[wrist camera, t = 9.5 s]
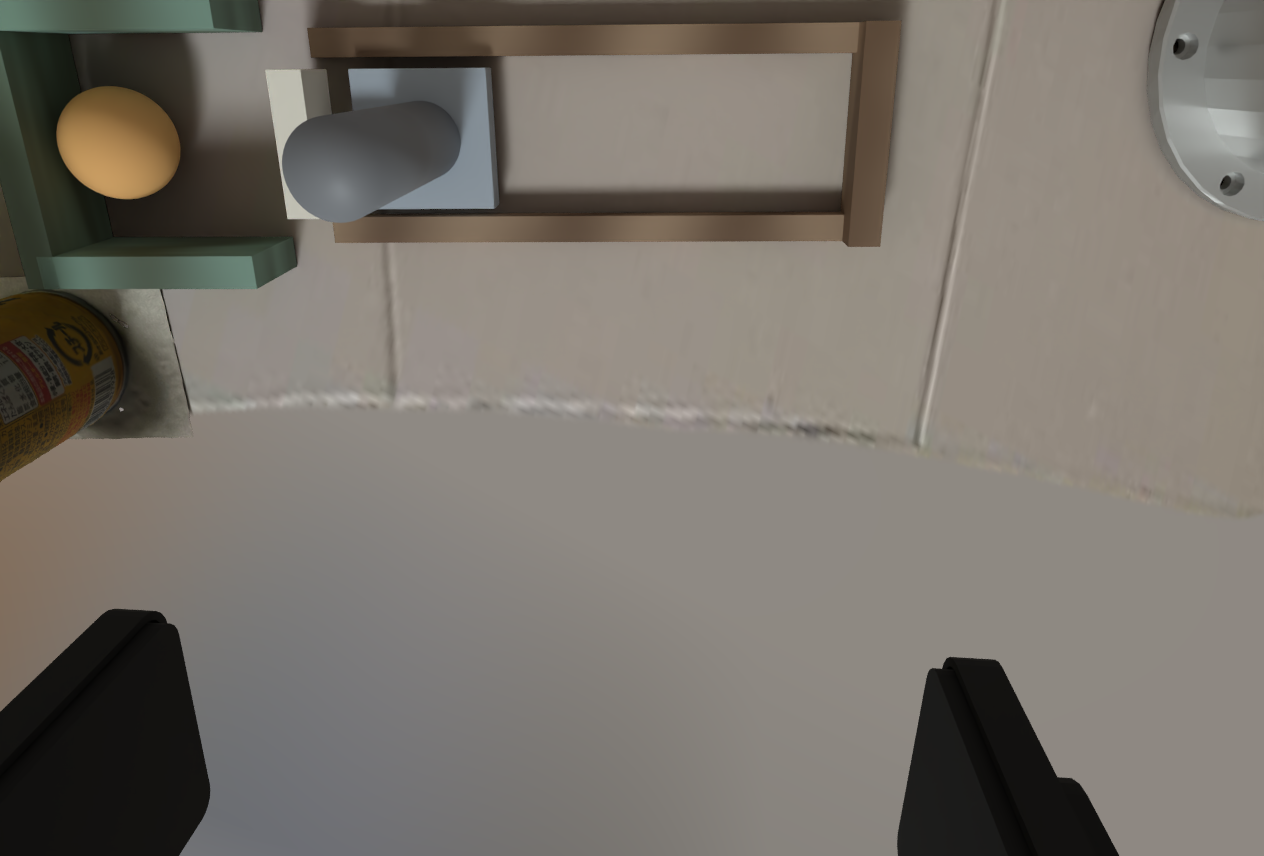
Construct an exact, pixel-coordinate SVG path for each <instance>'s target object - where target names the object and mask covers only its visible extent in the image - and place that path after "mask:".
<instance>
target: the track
mask: <svg viewBox="0 0 1264 856" xmlns="http://www.w3.org/2000/svg"><path fill="white" fill-rule="evenodd" d="M307 30H308V37H309V45H310V53H311V58H333V57H443V56H552V55H662V54H772V53H853V54H852V67H851V80H850V93H849V106H848V119H847V132H846V145H845V158H844V171H843V184H842V197H841V210H840V212H670V213H441V214H368V215H366V216H364V217H362V218H360V219H358V220H355V221H351V222H346V223H335V222H333V228H334V236H335V243H383V242H670V241H843V242H844V243H845V244H846V245H847V246H848V247H880V242H881V232H882V221H883V211H884V200H885V190H886V179H887V169H888V158H889V147H890V137H891V126H892V116H893V105H894V95H895V84H896V73H897V63H898V52H899V42H900V31H901V21H864V22H843V23H744V24H644V25H544V26H444V27H345V28H307Z"/></svg>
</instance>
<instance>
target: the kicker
mask: <svg viewBox="0 0 1264 856" xmlns="http://www.w3.org/2000/svg"><path fill="white" fill-rule="evenodd" d="M265 71H266V78H267V85H268V91H269V98H270V105H271V111H272V118H273V125H274V131H275V138H276V145H277V152H278V158H279V165H280V172H281V178H282V185H283V192H284V198H285V205H286V212H287V219H322V220H325V221H329V222H335V223H346V222H351V221H355V220H358V219H360V218H362V217H364V216H366V215H368V214H370V213H372V212H373V211H375V210H377V209H494V208H496V207H497V206H498V205H499V190H498V174H497V158H496V141H495V125H494V109H493V93H492V77H491V68H386V69H348V73H349V81H350V90H351V98H352V107H353V111H349V112H342V113H336V114H332V110H331V103H330V95H329V87H328V79H327V71H326V69H289V70H265Z"/></svg>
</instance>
